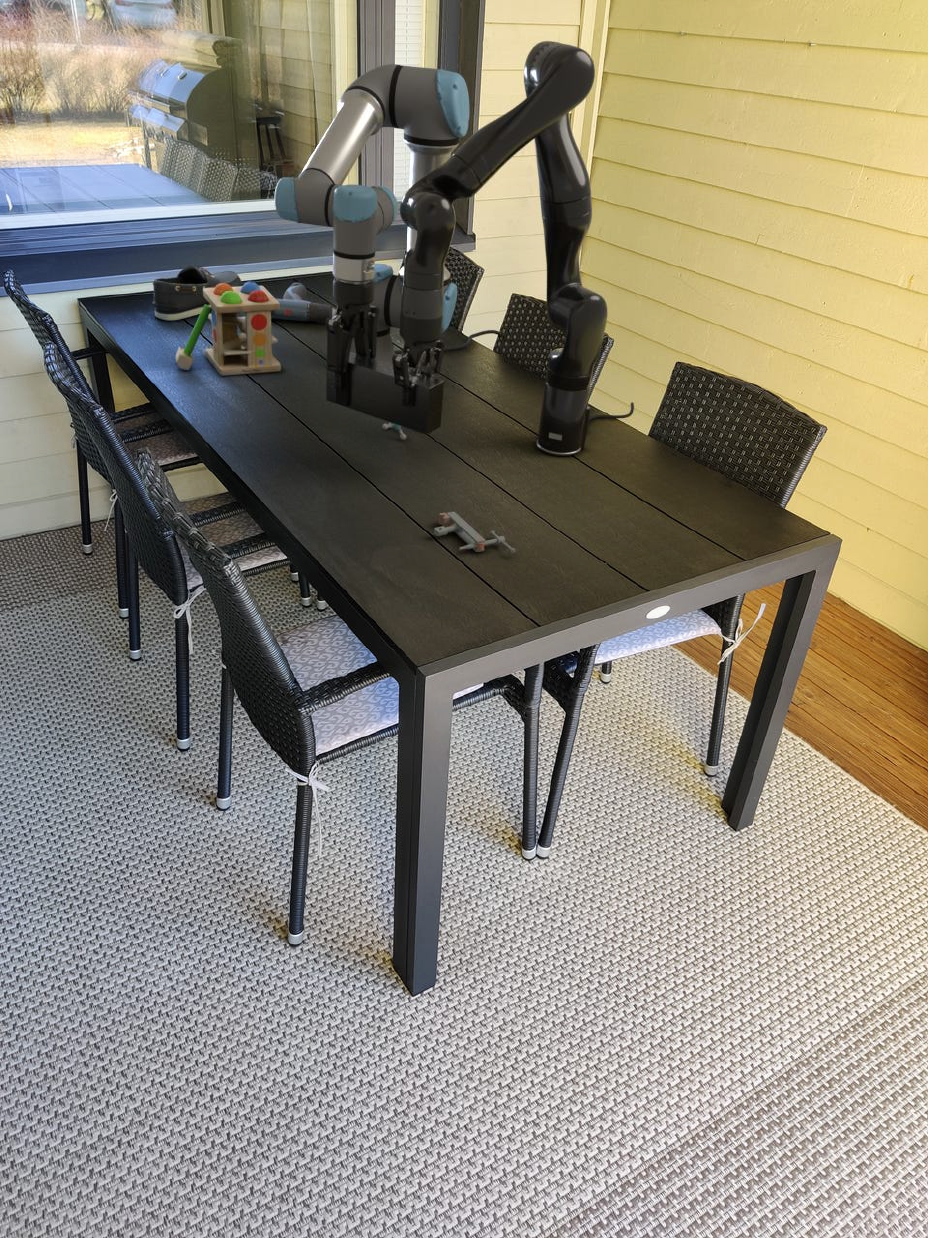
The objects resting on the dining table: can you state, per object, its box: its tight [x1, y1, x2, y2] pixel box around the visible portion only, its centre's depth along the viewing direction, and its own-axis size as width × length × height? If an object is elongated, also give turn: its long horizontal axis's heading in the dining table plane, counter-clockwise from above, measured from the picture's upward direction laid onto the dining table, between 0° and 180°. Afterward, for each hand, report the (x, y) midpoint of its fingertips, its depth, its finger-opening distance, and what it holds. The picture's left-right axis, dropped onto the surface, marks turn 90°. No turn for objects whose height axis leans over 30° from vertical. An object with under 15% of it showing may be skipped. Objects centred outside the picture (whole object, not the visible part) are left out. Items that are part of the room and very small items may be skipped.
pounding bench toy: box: [174, 281, 282, 377], centre depth 225 cm, size 23×14×18 cm, turn 116°
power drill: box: [271, 282, 337, 322], centre depth 265 cm, size 5×19×20 cm
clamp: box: [433, 511, 516, 555], centre depth 170 cm, size 15×2×10 cm
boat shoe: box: [151, 264, 243, 321], centre depth 263 cm, size 13×33×10 cm, turn 147°
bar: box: [325, 352, 445, 436], centre depth 186 cm, size 24×5×9 cm, turn 58°
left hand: (351, 399), depth 191 cm, fingers closed on bar, 5 cm apart
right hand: (416, 401), depth 183 cm, fingers closed on bar, 5 cm apart
